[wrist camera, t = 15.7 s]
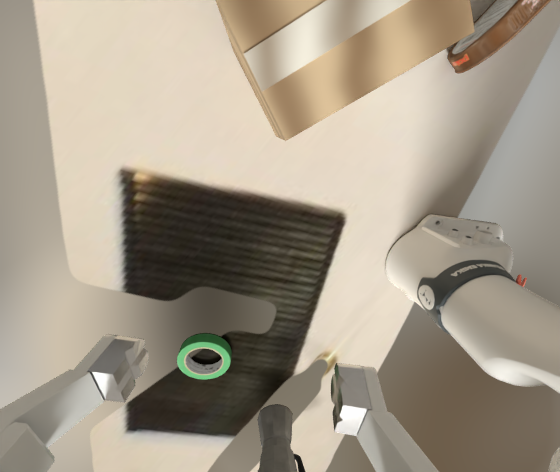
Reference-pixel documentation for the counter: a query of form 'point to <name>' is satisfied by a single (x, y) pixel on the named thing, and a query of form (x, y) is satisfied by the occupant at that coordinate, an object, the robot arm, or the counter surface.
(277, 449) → the coffeepot
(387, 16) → the carton
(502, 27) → the tin
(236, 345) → the counter surface
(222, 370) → the tape roll
